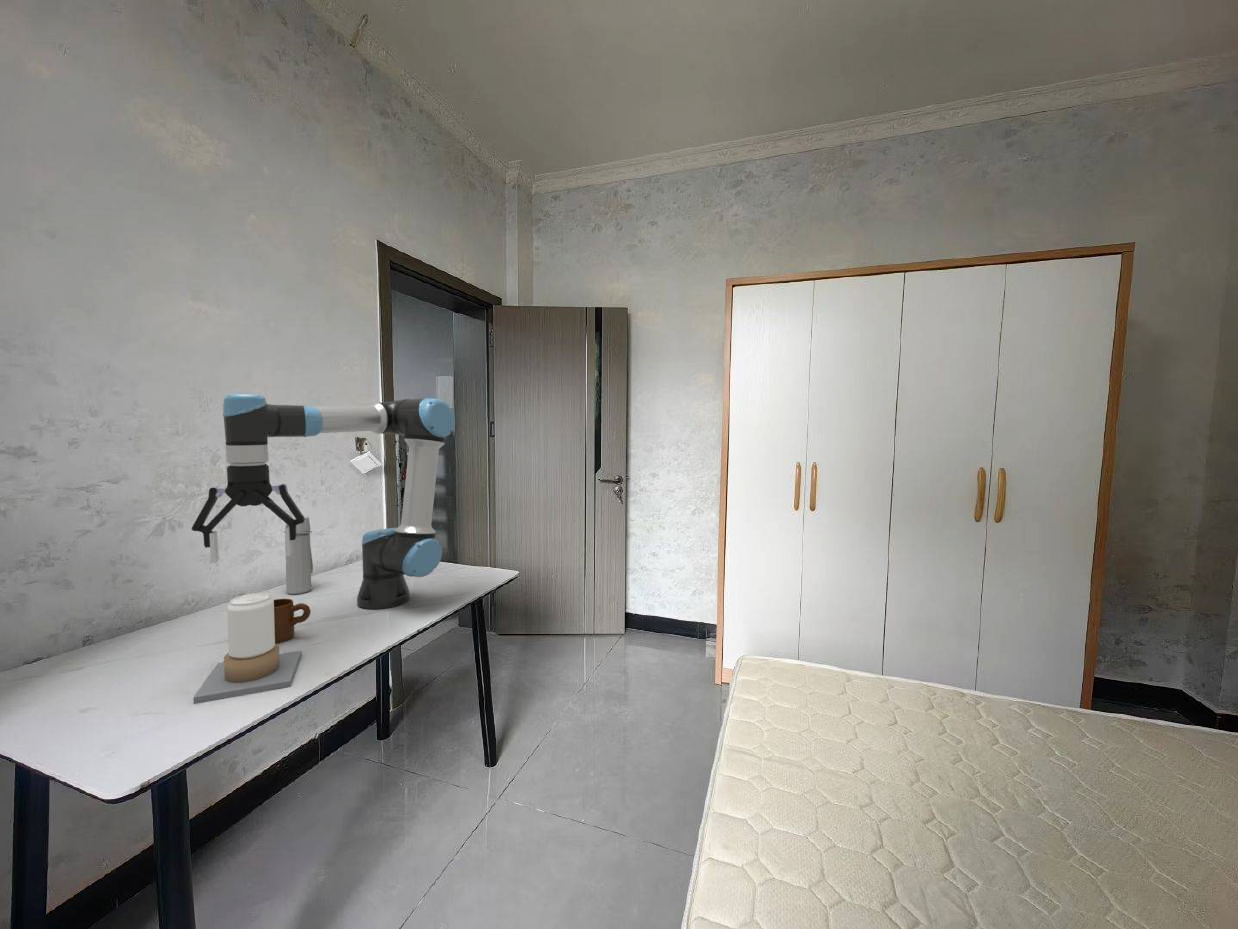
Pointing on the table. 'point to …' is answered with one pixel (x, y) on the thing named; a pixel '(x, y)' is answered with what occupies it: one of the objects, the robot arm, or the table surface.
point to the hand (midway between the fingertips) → (253, 557)
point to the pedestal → (249, 675)
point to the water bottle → (299, 560)
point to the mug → (287, 618)
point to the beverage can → (250, 625)
